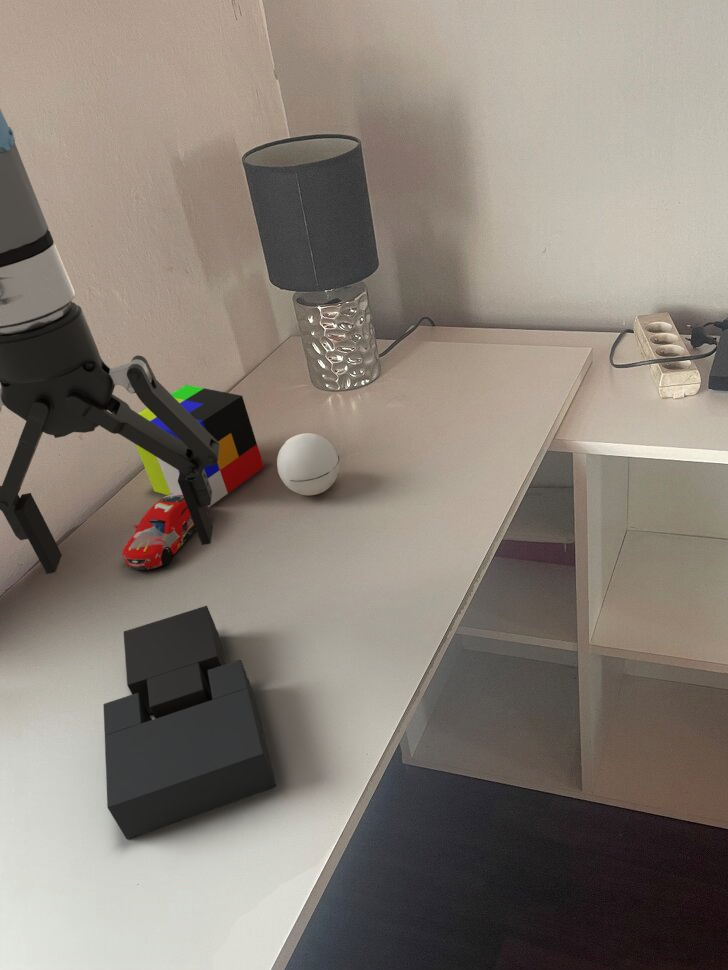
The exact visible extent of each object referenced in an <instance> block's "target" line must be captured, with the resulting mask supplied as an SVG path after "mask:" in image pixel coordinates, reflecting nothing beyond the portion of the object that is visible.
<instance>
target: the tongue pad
mask: <svg viewBox="0 0 728 970" xmlns="http://www.w3.org/2000/svg"><path fill="white" fill-rule="evenodd" d="M123 644H124V645H123V646H124V658H125V673H126V685H127V687H128V690H129V692H130V693H131V695H132V694H136V693H139V695H140V697H141V699H142V701H143V703H144V705H145V707H146V709H147V711H148V713H149V715H151V714H152V715H153V717H154V719H157V718H160V717H163V716H166V715H169V714H172V713H175V712H178V711H181V710H184V709H187V708H190V707H193V706H196V705H199V704H202V703H205V702H208V701H211V700H213V698H212V692H211V687H210V682H209V676H208V670H210V669H213V668H216V667H219V666H222V665H225V664H226V660H225V656H224V651H223V647H222V642H221V636H220V635H219V632H218V630H217V626H216V623H215V622H214V620H213V616H212V613H211V612H210V609H209V607H208V605H204V606H201V607H197V608H194V609H191V610H188V611H185V612H184V611H183V612H181V613H178V614H175V615H172V616H169V617H165V618H163V619H159V620H156V621H153V622H150V623H146V624H143V625H140V626H136V627H134V628H130V629H126V630H123Z"/></svg>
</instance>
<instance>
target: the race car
mask: <svg viewBox="0 0 728 970" xmlns="http://www.w3.org/2000/svg"><path fill="white" fill-rule="evenodd" d="M206 509H207V512H208V513H209V507H208V506H206ZM133 528H134V529H135V531H134V532H133V534H132V536H131V537H130V539H128V541H127V543H126V544H125V545H124V547H123V548H122V558H123V560H124V562H125V564H126V566H127V567H128V568H130V569H131V570H136V571H146V570H152V569H157V568H159V567H162V566H168V565H170V564H171V562H172V560H173V555H175V554H176V553H177V552H178V550H179V549H180V548H181V547H182V546H183V545H184V543H186V542H187V540H188V539H189V538H190V537H191V535H192V534H193V533H194V532H195V530H196V528H195V525H194V523H193V520H192V518H191V515H190V512H189V510H188V507H187V504H186V502H185V499H184V497H183V494H182V491H177V492H174V493H171V494H170V495H165V496H164V497H162V498H160V499H158V501H156V502H155V503H154V504H153V505H152V506H151V507H150V508H149V509H148V510H147V511H146V513H145V514H144V515H143V517H142V518H141V519H140V521H139V523H138V524H133Z"/></svg>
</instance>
